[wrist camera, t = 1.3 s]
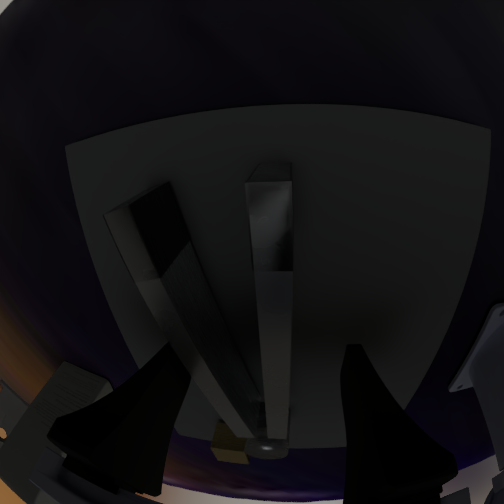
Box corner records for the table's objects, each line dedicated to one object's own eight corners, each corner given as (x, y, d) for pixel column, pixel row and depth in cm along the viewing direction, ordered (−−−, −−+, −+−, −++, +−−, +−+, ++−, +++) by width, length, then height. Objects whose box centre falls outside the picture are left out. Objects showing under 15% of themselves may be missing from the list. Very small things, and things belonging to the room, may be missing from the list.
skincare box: (134, 420, 23) (87, 531, 9) (90, 403, 23) (40, 499, 10) (106, 374, 19) (34, 513, 6) (58, 355, 19) (-14, 468, 6)
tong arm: (168, 181, 9) (128, 205, 7) (261, 398, 15) (255, 437, 12) (145, 189, 10) (102, 215, 7) (244, 399, 15) (236, 437, 13)
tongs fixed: (294, 162, 9) (296, 182, 6) (290, 420, 16) (287, 459, 13) (219, 165, 9) (186, 188, 6) (253, 418, 17) (246, 457, 14)
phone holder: (56, 426, 38) (27, 482, 22) (57, 432, 43) (31, 481, 27) (0, 377, 35) (-34, 428, 19) (6, 390, 40) (-23, 435, 24)
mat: (480, 127, 7) (491, 129, 7) (379, 435, 18) (380, 442, 17) (76, 143, 10) (64, 146, 9) (181, 427, 21) (179, 434, 20)
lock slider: (249, 426, 17) (244, 452, 15) (252, 441, 18) (248, 464, 16) (216, 422, 17) (210, 447, 15) (223, 437, 18) (217, 460, 16)
